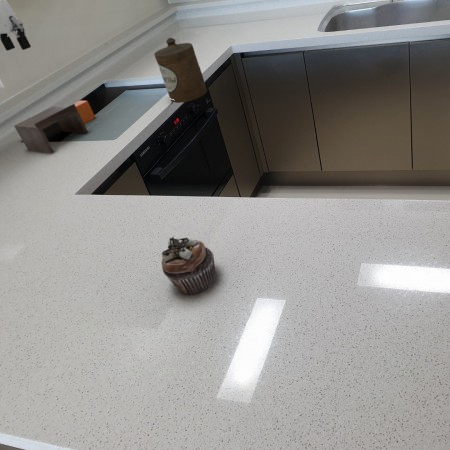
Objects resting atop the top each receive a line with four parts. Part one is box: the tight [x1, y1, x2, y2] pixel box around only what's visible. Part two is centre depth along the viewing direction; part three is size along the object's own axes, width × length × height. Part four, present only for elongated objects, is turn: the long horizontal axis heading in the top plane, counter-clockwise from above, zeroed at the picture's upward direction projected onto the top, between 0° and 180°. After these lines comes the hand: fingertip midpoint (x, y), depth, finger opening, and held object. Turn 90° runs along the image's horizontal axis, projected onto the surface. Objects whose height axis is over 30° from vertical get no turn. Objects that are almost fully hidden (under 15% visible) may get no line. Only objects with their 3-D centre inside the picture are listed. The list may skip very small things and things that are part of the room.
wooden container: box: [153, 37, 208, 104], centre depth 176 cm, size 15×15×22 cm
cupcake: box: [161, 236, 217, 296], centre depth 86 cm, size 10×10×10 cm
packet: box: [73, 100, 96, 125], centre depth 177 cm, size 5×9×7 cm, turn 151°
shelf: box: [13, 103, 89, 154], centre depth 164 cm, size 14×16×11 cm
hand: (18, 48), depth 161 cm, fingers open, 9 cm apart
